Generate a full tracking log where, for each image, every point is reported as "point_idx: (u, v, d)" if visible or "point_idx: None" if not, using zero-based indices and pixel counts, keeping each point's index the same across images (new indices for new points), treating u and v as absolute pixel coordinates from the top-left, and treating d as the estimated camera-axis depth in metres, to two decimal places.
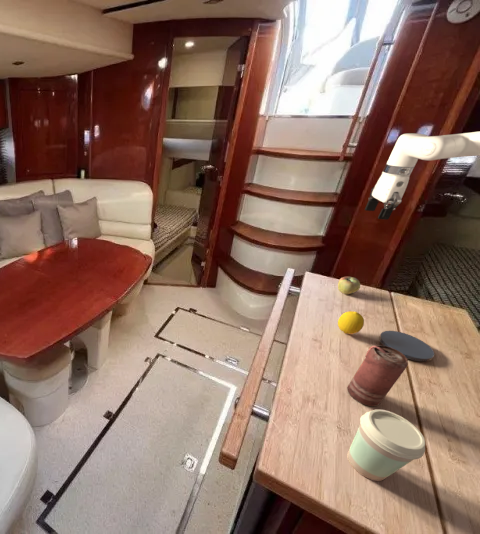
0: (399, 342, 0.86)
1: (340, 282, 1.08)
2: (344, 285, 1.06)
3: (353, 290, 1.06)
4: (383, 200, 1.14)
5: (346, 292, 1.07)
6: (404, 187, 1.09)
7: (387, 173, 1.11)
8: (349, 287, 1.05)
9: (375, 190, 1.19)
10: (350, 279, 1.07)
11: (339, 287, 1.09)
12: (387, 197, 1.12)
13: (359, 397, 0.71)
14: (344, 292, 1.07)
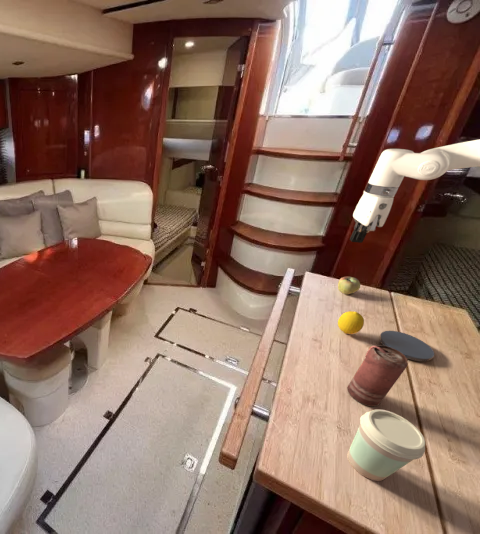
0: (399, 342, 0.86)
1: (340, 282, 1.08)
2: (344, 285, 1.06)
3: (353, 290, 1.06)
4: (364, 223, 1.00)
5: (346, 292, 1.07)
6: (388, 210, 0.96)
7: (369, 193, 0.98)
8: (349, 287, 1.05)
9: (356, 211, 1.05)
10: (350, 279, 1.07)
11: (339, 287, 1.09)
12: (369, 220, 0.99)
13: (359, 397, 0.71)
14: (344, 292, 1.07)
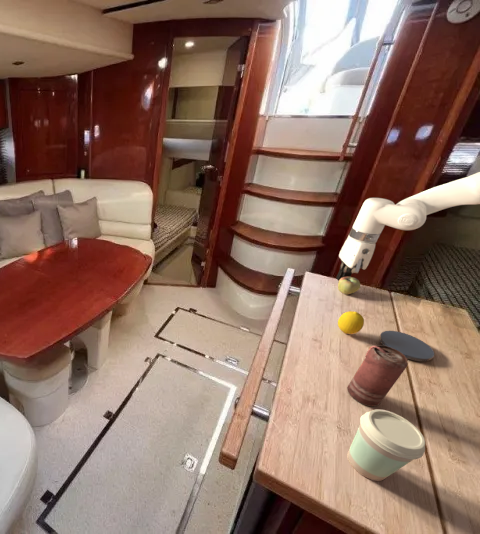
0: (399, 342, 0.86)
1: (340, 282, 1.08)
2: (344, 285, 1.06)
3: (353, 290, 1.06)
4: (349, 265, 1.06)
5: (346, 292, 1.07)
6: (370, 254, 1.02)
7: (353, 238, 1.03)
8: (350, 287, 1.05)
9: (341, 252, 1.11)
10: (350, 279, 1.07)
11: (339, 287, 1.09)
12: (353, 263, 1.04)
13: (359, 397, 0.71)
14: (344, 292, 1.07)
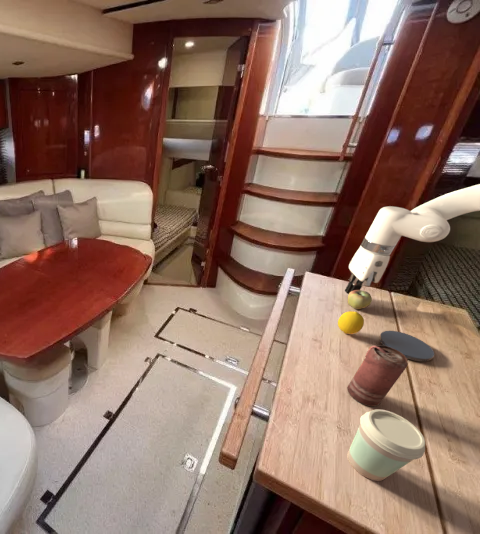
0: (399, 342, 0.86)
1: (350, 296, 1.01)
2: (355, 299, 0.99)
3: (365, 305, 0.98)
4: (360, 278, 0.99)
5: (357, 307, 0.99)
6: (383, 267, 0.94)
7: (365, 249, 0.96)
8: (361, 302, 0.98)
9: (352, 263, 1.04)
10: (361, 293, 1.00)
11: (349, 301, 1.01)
12: (364, 276, 0.97)
13: (359, 397, 0.71)
14: (355, 307, 1.00)
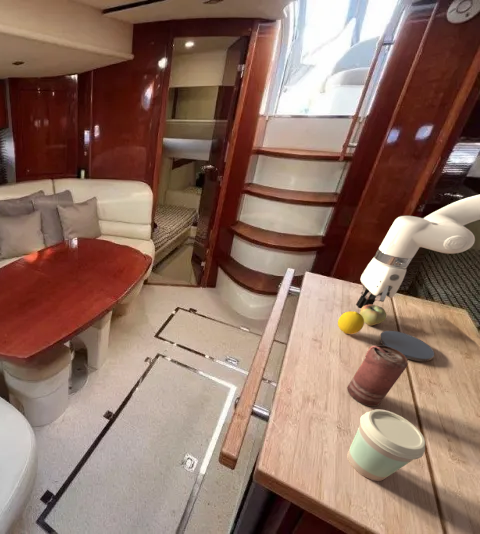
0: (399, 342, 0.86)
1: (363, 311, 0.94)
2: (368, 315, 0.92)
3: (379, 321, 0.92)
4: (373, 292, 0.92)
5: (371, 323, 0.92)
6: (399, 281, 0.87)
7: (379, 262, 0.89)
8: (375, 318, 0.91)
9: (364, 275, 0.97)
10: (374, 308, 0.93)
11: None
12: (378, 290, 0.90)
13: (359, 397, 0.71)
14: (368, 323, 0.93)
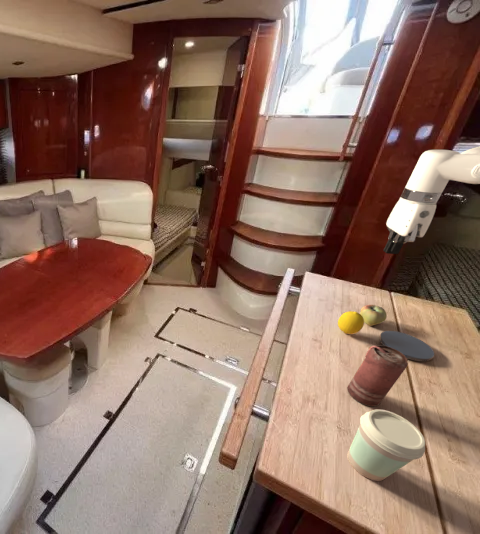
0: (399, 342, 0.86)
1: (363, 312, 0.94)
2: (369, 315, 0.92)
3: (379, 321, 0.91)
4: (402, 233, 0.90)
5: (371, 324, 0.92)
6: (430, 218, 0.85)
7: (407, 200, 0.87)
8: (375, 318, 0.91)
9: (390, 219, 0.95)
10: (374, 308, 0.93)
11: None
12: (408, 230, 0.88)
13: (359, 397, 0.71)
14: (368, 323, 0.93)
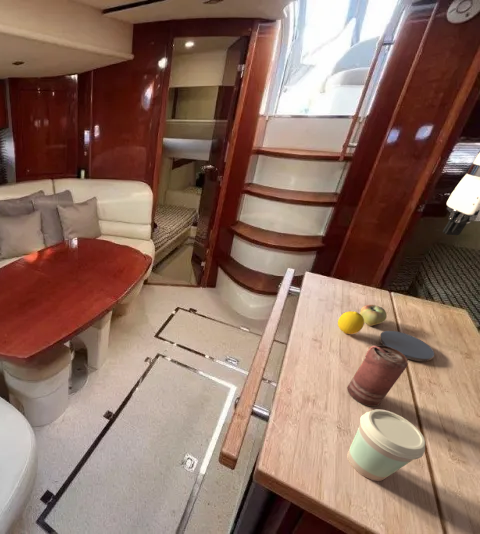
0: (399, 342, 0.86)
1: (363, 312, 0.94)
2: (369, 315, 0.92)
3: (379, 321, 0.91)
4: (468, 212, 0.85)
5: (371, 324, 0.92)
6: None
7: (476, 176, 0.83)
8: (375, 318, 0.91)
9: (452, 198, 0.90)
10: (374, 308, 0.93)
11: None
12: (475, 208, 0.84)
13: (359, 397, 0.71)
14: (368, 323, 0.93)
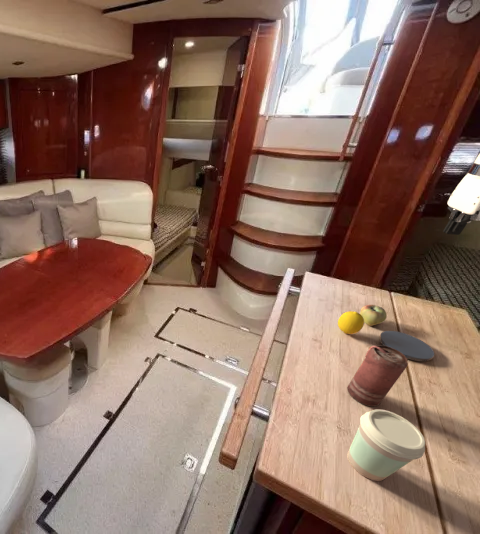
0: (399, 342, 0.86)
1: (363, 312, 0.94)
2: (369, 315, 0.92)
3: (379, 321, 0.91)
4: (469, 211, 0.85)
5: (371, 324, 0.92)
6: None
7: (477, 176, 0.83)
8: (375, 318, 0.91)
9: (453, 198, 0.90)
10: (374, 308, 0.93)
11: None
12: (476, 208, 0.84)
13: (359, 397, 0.71)
14: (368, 323, 0.93)
